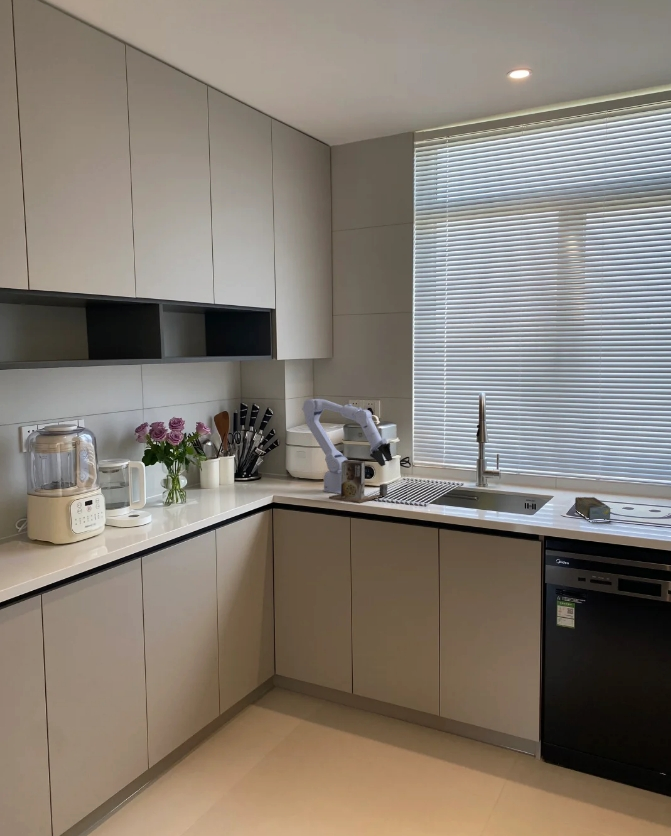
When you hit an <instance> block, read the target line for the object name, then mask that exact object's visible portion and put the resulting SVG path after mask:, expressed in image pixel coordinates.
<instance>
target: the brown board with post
mask: <svg viewBox="0 0 671 836" xmlns="http://www.w3.org/2000/svg"><path fill="white" fill-rule="evenodd" d="M385 495H388V496H389V494H388V483H381V484H379V494H374V495H371V496H367V495H364V497H363V498H362V499H351V498H341V493H337V494H334V495H329V496H328V498H329V499H331V500H337V501H338V500H339V501H344V502H351V503H356V504H362V503H365V502H369V500H370V501H373V500H372V499H374V498H377V497H381V496H385ZM374 500H375V499H374Z"/></svg>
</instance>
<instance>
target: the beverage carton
mask: <svg viewBox="0 0 671 836" xmlns="http://www.w3.org/2000/svg"><path fill="white" fill-rule="evenodd" d="M574 500H575V501H574V504H575V507H574V509H576V510H577V511H578V512H580V513H581V514H583V515H584V516H586V517H587V518H589V519H604V520H605V519H607V520H610V521H611V507H610V506H608V505H606V503H604V502H602V501H601V500H599V499H598V498H596V497H595V496H592V497H591V496H589V497H587V496H584V497H581V496H580V497H579V496H578V497H575V498H574Z"/></svg>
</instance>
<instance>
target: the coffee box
mask: <svg viewBox="0 0 671 836" xmlns="http://www.w3.org/2000/svg"><path fill="white" fill-rule="evenodd" d="M365 474H366V461H365V460H349V459H348V460H345V461H343V462H342V463H341V493H340V494H341V498H351V499H362V498H363V497H364V496H365V476H366V475H365Z"/></svg>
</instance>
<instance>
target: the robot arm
mask: <svg viewBox="0 0 671 836" xmlns="http://www.w3.org/2000/svg"><path fill="white" fill-rule="evenodd" d="M301 409H302V411H303V413H304V418H305V424H306V425H307V427H308V429H309V431H310V432H311V433H312V436H313V437H314V438H315V441H316V442H317V443H318V445H319V446H320V449H321V450H322V452H323V454H325V459H324V460H325V461H324V462H326V466H327V469H328V471H325V473H324V476H323V489H322V491H323V492H327V493H328V492H329V493H332V494H334V493H335V494H341V463H342V462H343V461H345V460H349V459H348V458H347V457H346V456H344V455H343V453H342V452H340V451H339V450H338V449H337V448H336V446H335V445H334V443H333V442H332V441H331V440H332V439H330V437H329V436H328V435H329V434H327V432H326V431H325V429H324V427H323V426H322V424H321V422H320V418H321V415H322V413H323V412H324V410H328V411H332V412H335V413H339V414H341V416H342V417H343V418H345V419H349V420H352V421H354V422H356V424H359V425H360V427H361V430H362V431H363V433H364V435H365V438H366V440H367V441H368V443H369V446H370V449H369V452H370V454H369V456H370V457H371V458H373V459H374V460H375V461H376V462H377V463H378V465H379V467H383V466H385V465H387V464H386V462H385V460H386V461H387V462H391V461H393V457H392V453H391V442H389V443H388V441H387V439H386V438H382V436H381V434H380V432H379V431H378V428H377V427H376V424H375V422H374V420H373V414H372V411H370V410H368V409H366V408H364V409H362V407H356V406H353V404H351V403H348V404H345V405H341V404H338V403H336V402H333V401H329V400H327V399H322V398H307V399H306V400H304V402H303V404H302V408H301Z"/></svg>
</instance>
